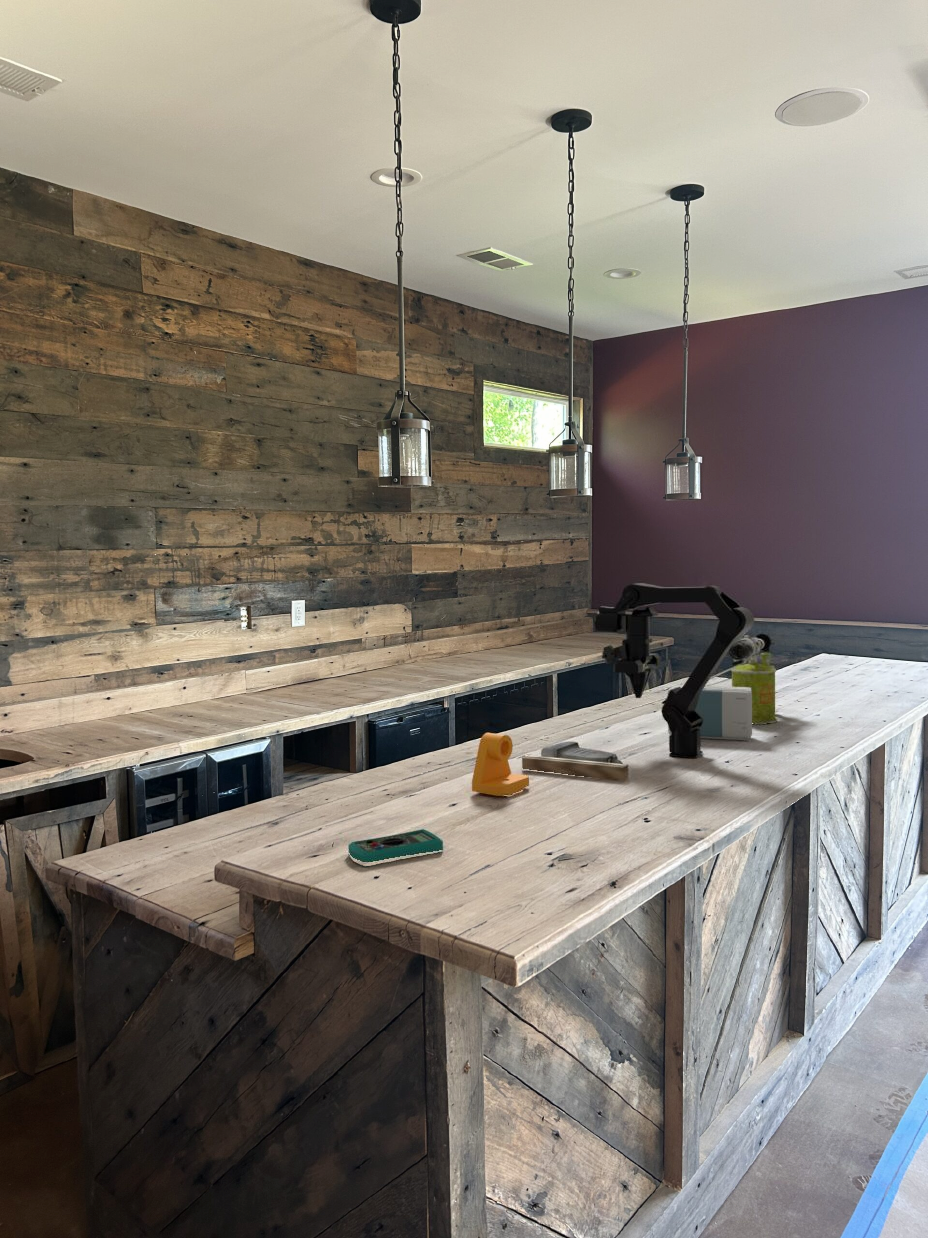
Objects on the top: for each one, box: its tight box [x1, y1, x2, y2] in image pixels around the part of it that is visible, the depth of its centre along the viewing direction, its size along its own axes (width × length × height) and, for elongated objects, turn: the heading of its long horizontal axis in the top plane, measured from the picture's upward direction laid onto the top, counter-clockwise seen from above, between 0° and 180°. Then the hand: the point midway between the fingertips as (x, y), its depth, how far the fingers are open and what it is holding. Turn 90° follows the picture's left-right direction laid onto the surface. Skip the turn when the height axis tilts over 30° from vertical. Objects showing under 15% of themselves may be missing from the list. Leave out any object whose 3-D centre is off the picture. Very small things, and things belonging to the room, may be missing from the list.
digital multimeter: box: [347, 828, 444, 862], centre depth 150 cm, size 7×15×3 cm, turn 118°
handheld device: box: [540, 741, 624, 764], centre depth 209 cm, size 10×20×5 cm, turn 50°
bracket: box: [471, 732, 530, 797], centre depth 188 cm, size 11×7×12 cm, turn 141°
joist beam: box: [521, 754, 629, 782], centre depth 201 cm, size 24×3×3 cm, turn 61°
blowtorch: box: [728, 633, 778, 725], centre depth 258 cm, size 13×33×25 cm, turn 148°
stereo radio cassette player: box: [667, 661, 753, 742], centre depth 237 cm, size 21×8×20 cm, turn 68°
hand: (638, 697), depth 223 cm, fingers closed
